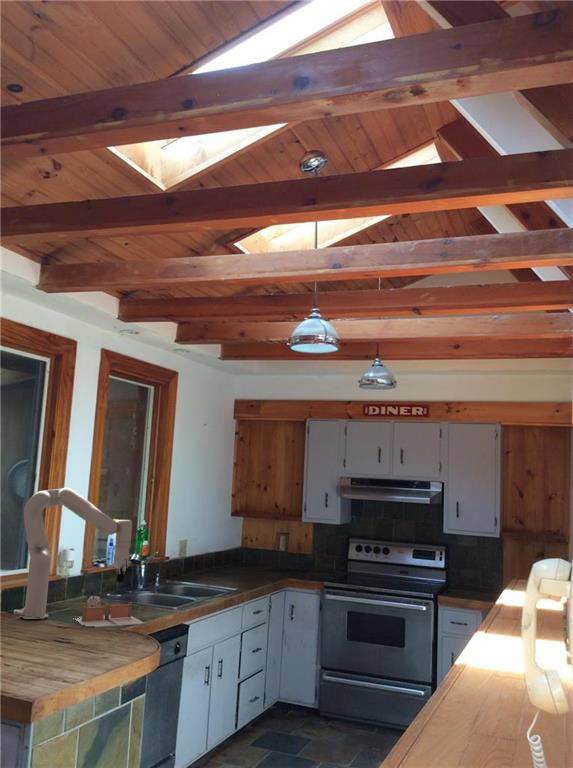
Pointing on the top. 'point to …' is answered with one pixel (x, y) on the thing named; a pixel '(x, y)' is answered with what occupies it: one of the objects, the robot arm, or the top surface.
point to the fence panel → (121, 611)
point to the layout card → (110, 622)
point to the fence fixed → (95, 613)
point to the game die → (94, 601)
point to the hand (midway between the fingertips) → (120, 582)
